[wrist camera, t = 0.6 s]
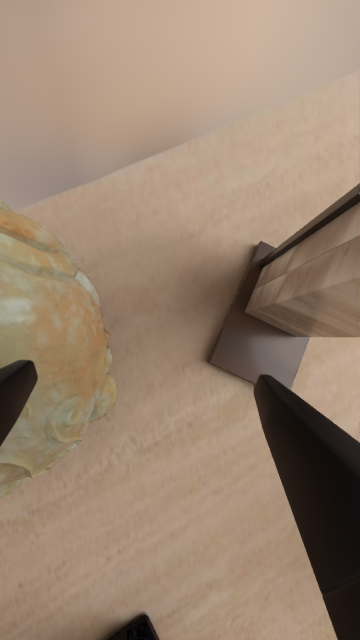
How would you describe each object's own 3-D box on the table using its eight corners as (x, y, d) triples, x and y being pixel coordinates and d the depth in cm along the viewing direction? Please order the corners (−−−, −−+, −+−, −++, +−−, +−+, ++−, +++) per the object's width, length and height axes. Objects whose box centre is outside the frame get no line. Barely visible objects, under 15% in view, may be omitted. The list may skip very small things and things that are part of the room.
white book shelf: (282, 396, 24) (487, 496, 9) (206, 361, 23) (288, 406, 8) (325, 278, 25) (556, 196, 11) (257, 244, 25) (398, 108, 10)
